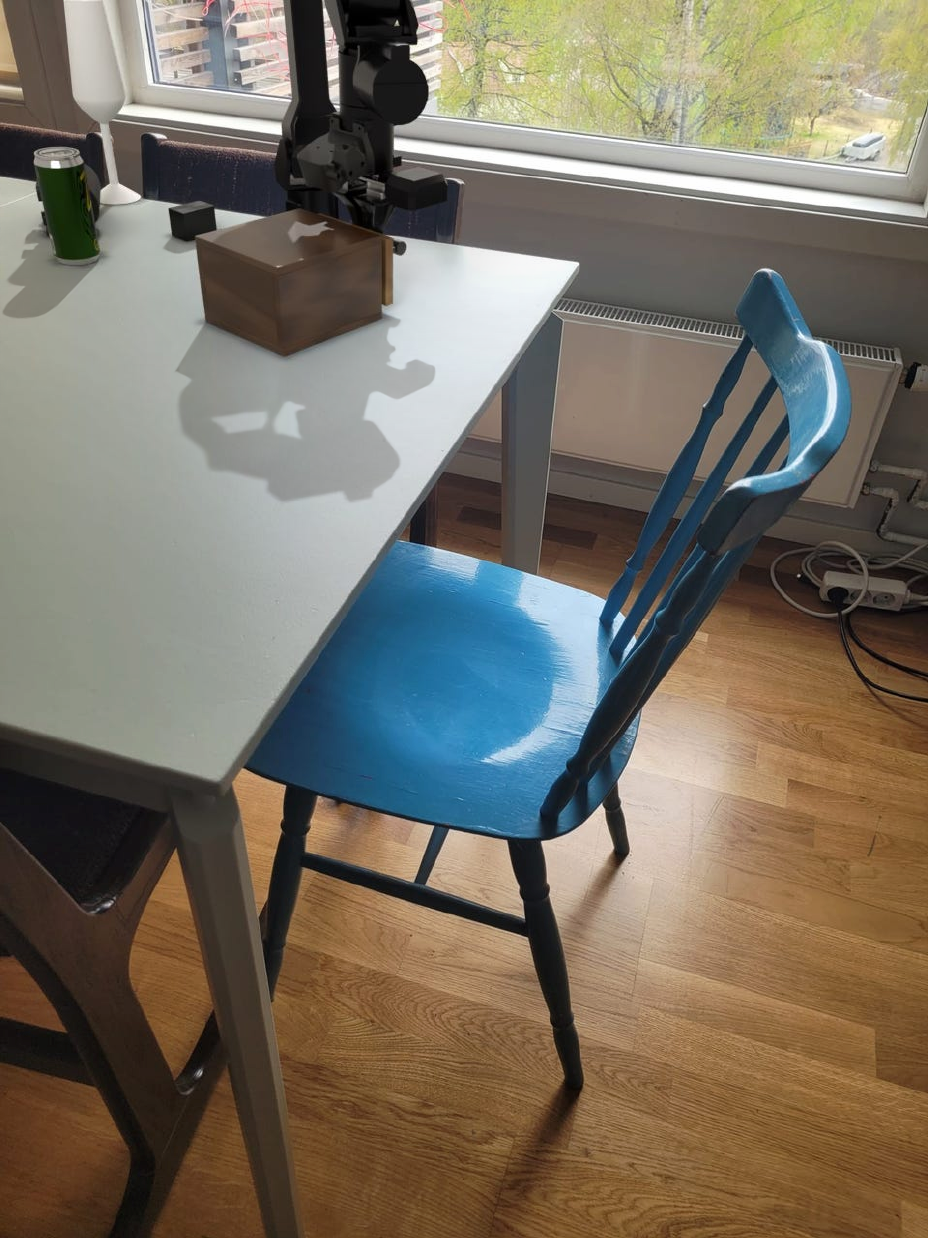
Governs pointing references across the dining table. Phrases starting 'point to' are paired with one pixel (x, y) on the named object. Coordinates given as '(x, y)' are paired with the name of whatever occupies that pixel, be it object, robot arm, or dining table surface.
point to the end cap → (93, 191)
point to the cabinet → (290, 279)
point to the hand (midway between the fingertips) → (368, 253)
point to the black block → (192, 220)
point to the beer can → (67, 205)
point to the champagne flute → (97, 81)
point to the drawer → (386, 261)
